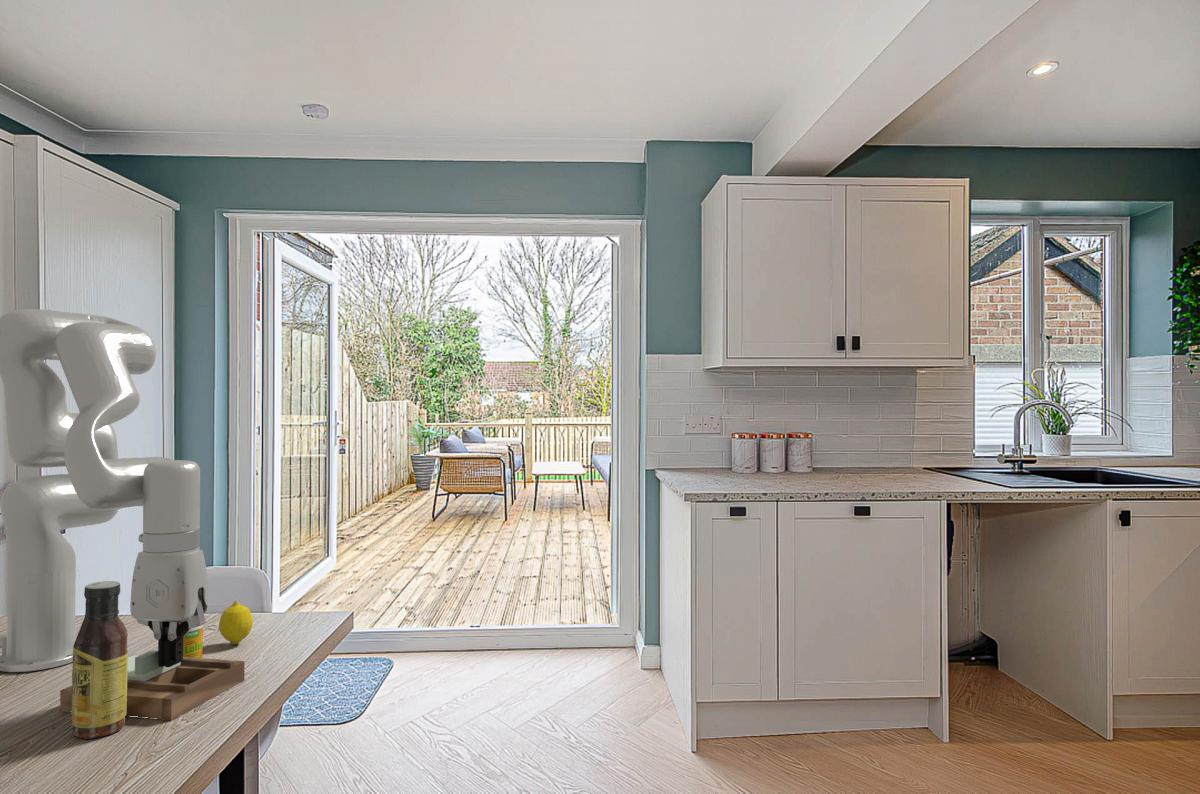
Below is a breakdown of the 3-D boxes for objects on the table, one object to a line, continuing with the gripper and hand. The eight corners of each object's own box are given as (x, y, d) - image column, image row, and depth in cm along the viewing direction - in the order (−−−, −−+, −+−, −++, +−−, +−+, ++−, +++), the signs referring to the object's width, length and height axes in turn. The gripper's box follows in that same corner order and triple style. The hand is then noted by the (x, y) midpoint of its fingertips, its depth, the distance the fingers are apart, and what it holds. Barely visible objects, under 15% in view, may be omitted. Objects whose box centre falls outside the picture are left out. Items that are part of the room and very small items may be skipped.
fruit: (230, 651, 136) (231, 606, 136) (212, 646, 139) (212, 602, 139) (258, 643, 141) (259, 599, 141) (240, 638, 144) (240, 595, 144)
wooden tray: (60, 711, 109) (60, 684, 109) (145, 672, 125) (145, 649, 125) (171, 720, 106) (171, 693, 106) (244, 680, 122) (244, 656, 122)
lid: (89, 680, 113) (89, 656, 113) (133, 661, 121) (133, 639, 121) (139, 683, 111) (139, 659, 112) (180, 664, 120) (180, 642, 120)
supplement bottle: (186, 673, 125) (187, 613, 125) (158, 670, 126) (158, 611, 126) (209, 662, 130) (210, 605, 131) (182, 660, 132) (182, 603, 132)
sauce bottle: (66, 731, 103) (68, 583, 103) (120, 717, 107) (121, 575, 107) (77, 746, 98) (78, 591, 98) (132, 732, 103) (134, 583, 103)
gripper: (108, 545, 113) (107, 669, 113) (198, 548, 111) (197, 676, 110) (146, 536, 121) (145, 653, 120) (232, 539, 118) (231, 659, 118)
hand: (170, 663), depth 115 cm, fingers closed
